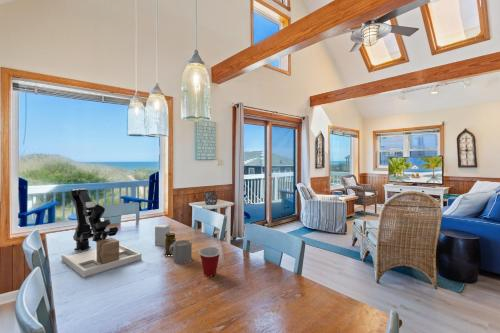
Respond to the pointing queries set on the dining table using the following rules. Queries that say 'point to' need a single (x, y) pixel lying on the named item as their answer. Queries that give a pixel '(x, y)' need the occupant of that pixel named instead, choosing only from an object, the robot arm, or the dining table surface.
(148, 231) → the dining table surface
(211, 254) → the plastic cup
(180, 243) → the coffee mug
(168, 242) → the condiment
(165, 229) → the supplement box
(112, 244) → the walnut block
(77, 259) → the white recessed tray
